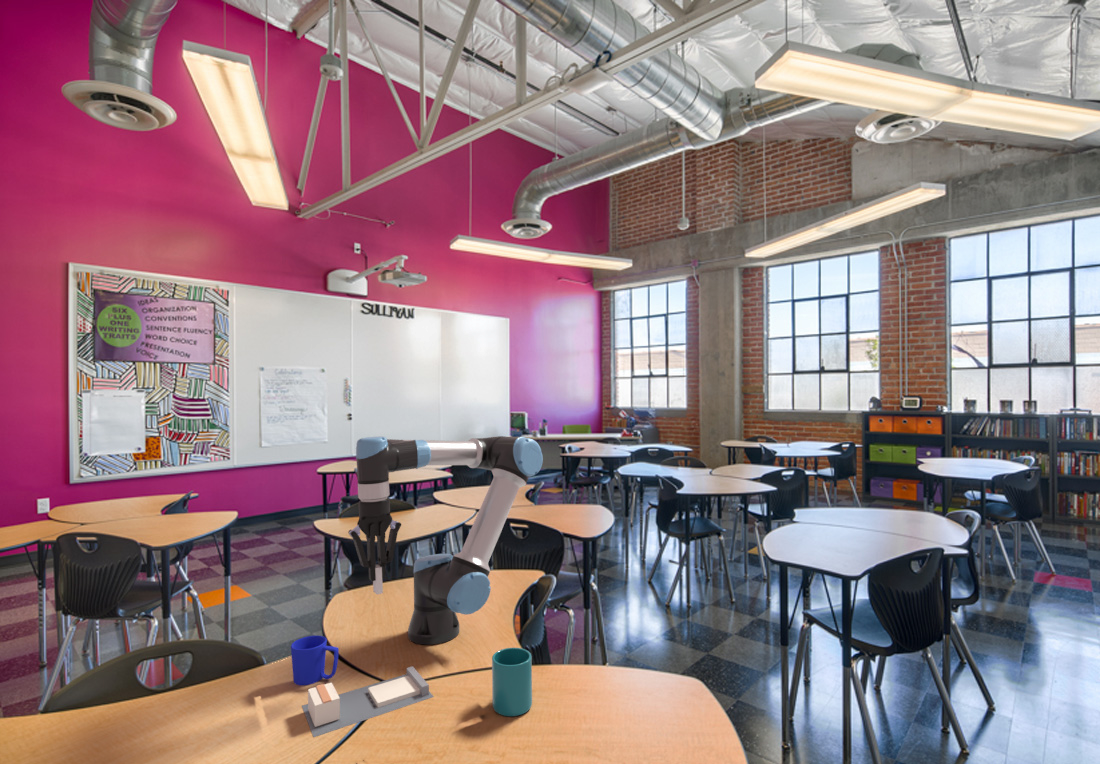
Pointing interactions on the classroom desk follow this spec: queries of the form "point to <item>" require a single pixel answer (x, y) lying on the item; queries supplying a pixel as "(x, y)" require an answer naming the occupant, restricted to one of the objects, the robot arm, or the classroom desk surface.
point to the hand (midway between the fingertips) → (378, 592)
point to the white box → (323, 704)
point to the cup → (512, 681)
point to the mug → (311, 659)
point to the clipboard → (375, 700)
